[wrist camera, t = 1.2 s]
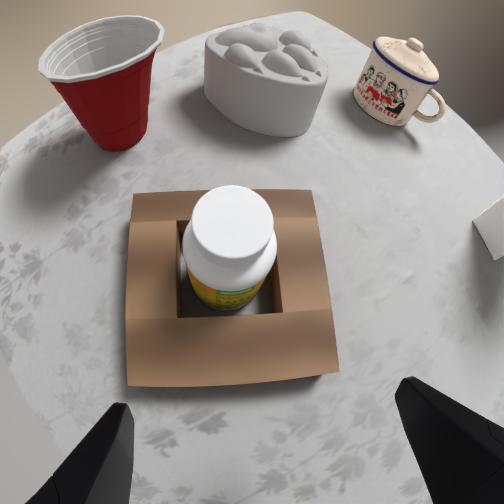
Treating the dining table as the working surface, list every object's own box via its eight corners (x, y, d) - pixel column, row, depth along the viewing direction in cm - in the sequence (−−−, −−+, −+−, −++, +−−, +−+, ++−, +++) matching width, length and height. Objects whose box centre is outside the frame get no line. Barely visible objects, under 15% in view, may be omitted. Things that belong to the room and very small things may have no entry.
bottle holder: (324, 371, 21) (339, 371, 18) (139, 383, 19) (127, 385, 17) (301, 208, 26) (311, 190, 23) (141, 212, 24) (133, 193, 21)
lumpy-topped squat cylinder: (257, 64, 34) (267, 11, 26) (331, 118, 31) (357, 61, 23) (192, 89, 31) (191, 28, 23) (267, 154, 28) (285, 86, 20)
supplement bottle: (213, 324, 22) (212, 296, 13) (178, 265, 23) (157, 202, 14) (273, 288, 23) (310, 238, 14) (236, 233, 25) (249, 159, 16)
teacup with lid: (338, 94, 34) (368, 22, 23) (370, 78, 36) (398, 19, 26) (410, 154, 31) (460, 89, 20) (432, 130, 34) (473, 75, 23)
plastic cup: (158, 175, 26) (135, 68, 15) (62, 171, 25) (14, 85, 14) (183, 100, 30) (179, 8, 19) (99, 100, 29) (76, 19, 18)
